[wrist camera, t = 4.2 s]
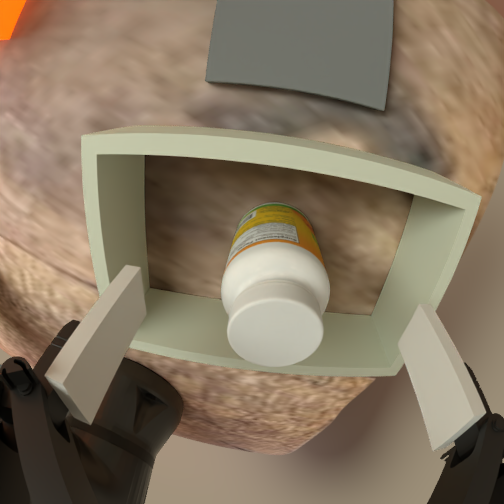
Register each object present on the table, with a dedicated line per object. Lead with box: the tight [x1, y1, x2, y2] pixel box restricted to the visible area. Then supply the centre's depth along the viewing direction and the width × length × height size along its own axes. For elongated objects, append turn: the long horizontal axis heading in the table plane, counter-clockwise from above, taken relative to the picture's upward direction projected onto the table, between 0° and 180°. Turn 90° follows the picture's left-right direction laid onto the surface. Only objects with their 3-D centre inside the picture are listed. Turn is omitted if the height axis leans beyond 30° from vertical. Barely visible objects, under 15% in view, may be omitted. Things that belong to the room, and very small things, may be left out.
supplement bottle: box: [221, 202, 330, 367], centre depth 15 cm, size 5×5×10 cm
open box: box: [81, 126, 481, 377], centre depth 17 cm, size 14×21×6 cm, turn 83°
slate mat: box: [205, 0, 393, 111], centre depth 12 cm, size 11×11×1 cm
